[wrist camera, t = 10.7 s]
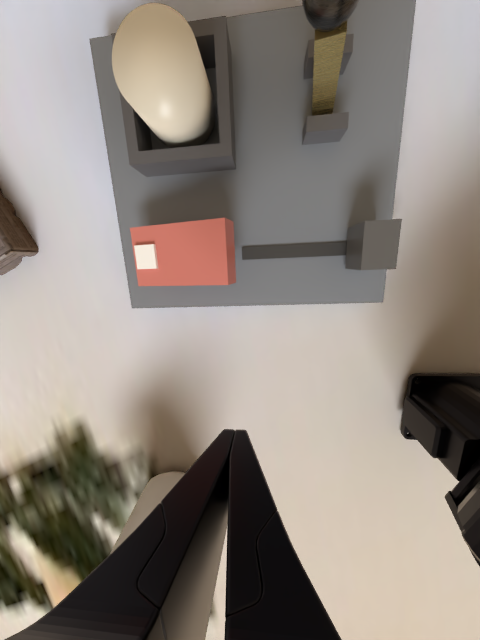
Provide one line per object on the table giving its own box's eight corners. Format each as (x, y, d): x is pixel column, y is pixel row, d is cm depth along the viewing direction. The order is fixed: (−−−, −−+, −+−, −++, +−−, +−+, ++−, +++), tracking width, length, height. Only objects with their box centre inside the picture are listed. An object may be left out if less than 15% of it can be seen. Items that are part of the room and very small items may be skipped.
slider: (378, 226, 16) (401, 218, 13) (374, 267, 17) (395, 268, 14) (347, 227, 16) (364, 220, 13) (345, 268, 17) (360, 270, 14)
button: (213, 67, 14) (194, -5, 10) (217, 148, 15) (202, 110, 12) (145, 76, 15) (104, 10, 11) (154, 154, 16) (119, 120, 12)
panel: (405, 21, 15) (458, -68, 11) (377, 298, 19) (407, 308, 15) (109, 63, 17) (61, 2, 13) (143, 304, 21) (115, 313, 17)
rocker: (233, 221, 15) (223, 217, 14) (236, 282, 16) (227, 285, 15) (145, 230, 17) (127, 227, 16) (152, 283, 18) (136, 286, 17)
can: (141, 466, 26) (45, 627, 15) (204, 463, 25) (154, 633, 14) (156, 517, 28) (81, 697, 16) (216, 516, 27) (181, 706, 15)
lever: (342, 73, 14) (379, -122, 7) (340, 116, 14) (372, -22, 7) (304, 82, 14) (302, -88, 7) (303, 123, 15) (300, 2, 8)
